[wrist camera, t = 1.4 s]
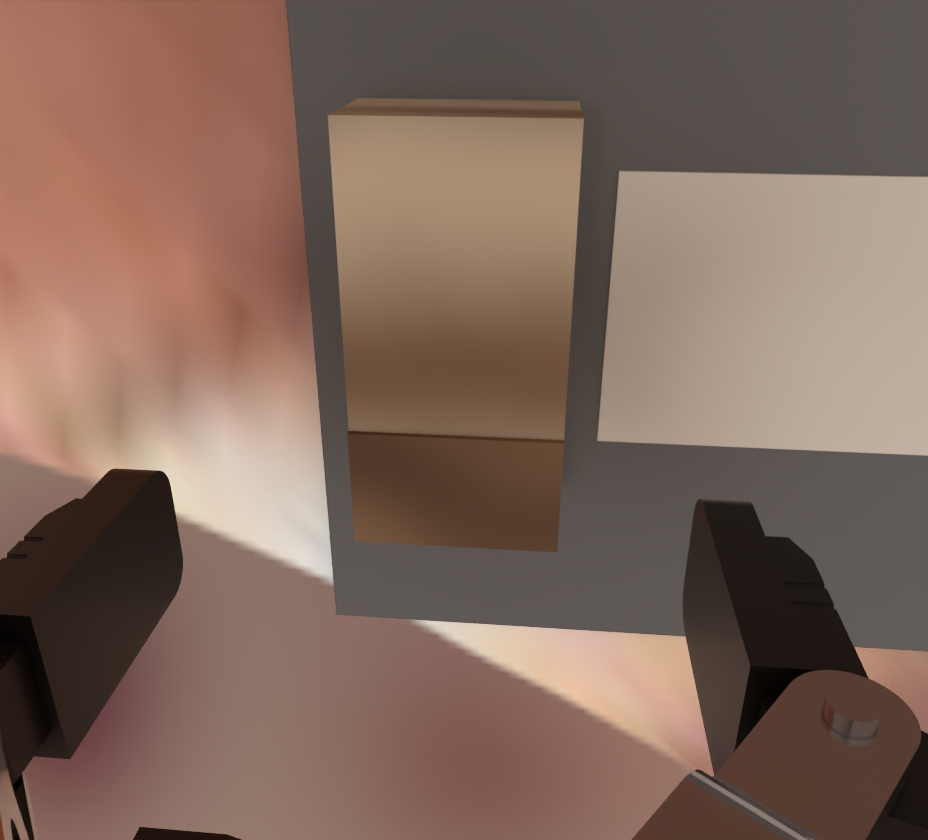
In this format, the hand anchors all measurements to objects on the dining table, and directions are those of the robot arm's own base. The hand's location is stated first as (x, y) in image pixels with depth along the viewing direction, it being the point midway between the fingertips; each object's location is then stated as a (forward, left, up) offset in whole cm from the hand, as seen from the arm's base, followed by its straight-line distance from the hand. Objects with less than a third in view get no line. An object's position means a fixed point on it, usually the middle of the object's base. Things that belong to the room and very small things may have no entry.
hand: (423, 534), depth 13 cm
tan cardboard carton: (0, 0, -10) cm, 10 cm away
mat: (0, +6, -10) cm, 12 cm away
